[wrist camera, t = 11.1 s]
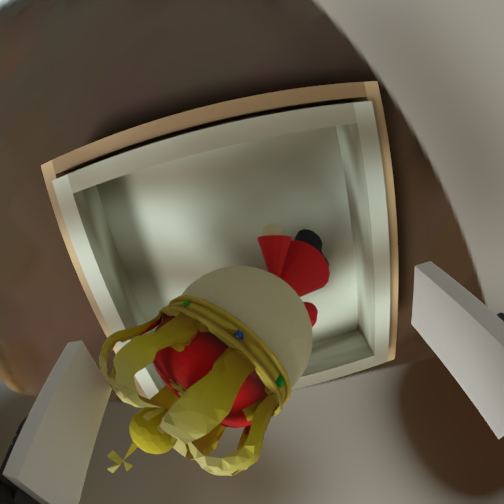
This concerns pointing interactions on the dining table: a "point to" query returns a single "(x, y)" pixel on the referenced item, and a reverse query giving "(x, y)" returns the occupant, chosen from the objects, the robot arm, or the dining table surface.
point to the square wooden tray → (240, 213)
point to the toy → (223, 354)
